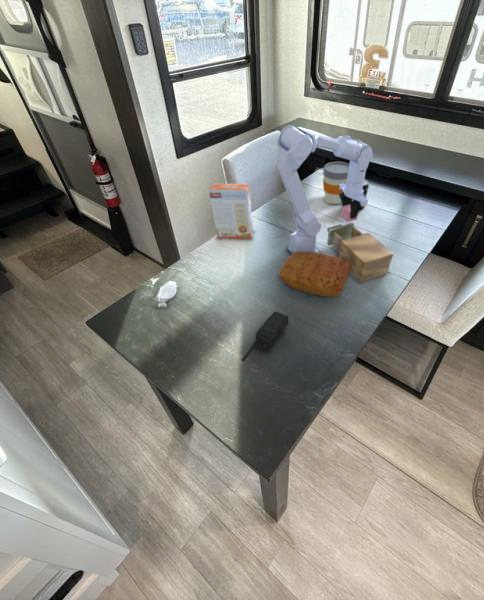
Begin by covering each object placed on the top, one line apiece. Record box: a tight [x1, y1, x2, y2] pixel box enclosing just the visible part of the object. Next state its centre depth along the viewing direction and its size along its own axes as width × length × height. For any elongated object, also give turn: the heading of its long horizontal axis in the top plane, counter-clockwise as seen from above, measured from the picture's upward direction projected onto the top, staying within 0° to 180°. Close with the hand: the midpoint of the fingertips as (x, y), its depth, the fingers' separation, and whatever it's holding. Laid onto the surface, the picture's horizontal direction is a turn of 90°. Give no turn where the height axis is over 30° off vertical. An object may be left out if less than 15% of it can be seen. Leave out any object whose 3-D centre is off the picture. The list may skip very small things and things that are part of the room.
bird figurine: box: [155, 280, 180, 308], centre depth 102 cm, size 5×7×10 cm
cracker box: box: [208, 182, 254, 240], centre depth 121 cm, size 14×6×21 cm, turn 84°
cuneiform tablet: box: [278, 252, 351, 298], centre depth 104 cm, size 22×17×8 cm
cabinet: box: [338, 232, 394, 283], centre depth 110 cm, size 14×12×9 cm
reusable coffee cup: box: [322, 161, 350, 205], centre depth 141 cm, size 13×12×15 cm
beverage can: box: [351, 178, 370, 211], centre depth 137 cm, size 7×7×12 cm
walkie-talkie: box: [241, 311, 289, 363], centre depth 88 cm, size 6×6×20 cm
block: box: [340, 204, 359, 223], centre depth 117 cm, size 4×4×4 cm
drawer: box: [326, 222, 363, 254], centre depth 117 cm, size 17×10×7 cm, turn 24°
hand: (349, 214), depth 118 cm, fingers closed on block, 4 cm apart
